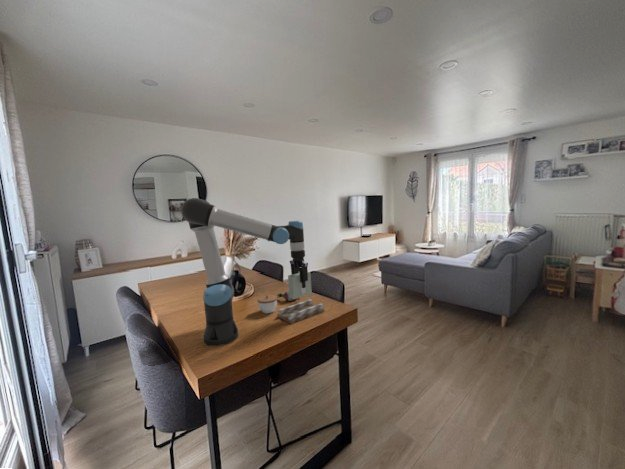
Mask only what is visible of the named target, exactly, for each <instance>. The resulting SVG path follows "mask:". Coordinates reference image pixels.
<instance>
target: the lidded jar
mask: <svg viewBox="0 0 625 469" xmlns="http://www.w3.org/2000/svg"><path fill="white" fill-rule="evenodd" d="M257 303H258V304H257V305H258V309H259V310H260V311H261V312H262V313H263V314H271V313H274V311H275V310H276V309H277V306H278V305H277V304H278V298H277V296H276V295H273V294H269V295H268V294H267V295H263V296H260V297H258V298H257Z"/></svg>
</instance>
